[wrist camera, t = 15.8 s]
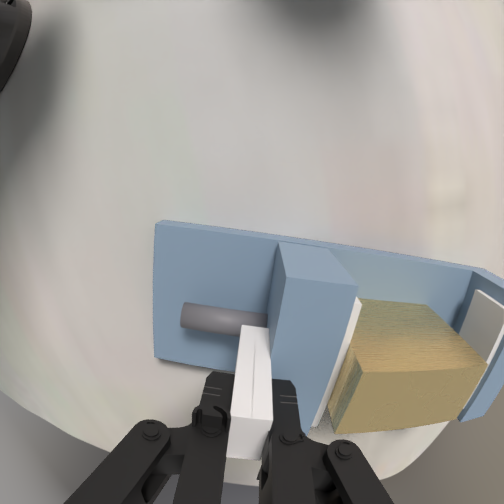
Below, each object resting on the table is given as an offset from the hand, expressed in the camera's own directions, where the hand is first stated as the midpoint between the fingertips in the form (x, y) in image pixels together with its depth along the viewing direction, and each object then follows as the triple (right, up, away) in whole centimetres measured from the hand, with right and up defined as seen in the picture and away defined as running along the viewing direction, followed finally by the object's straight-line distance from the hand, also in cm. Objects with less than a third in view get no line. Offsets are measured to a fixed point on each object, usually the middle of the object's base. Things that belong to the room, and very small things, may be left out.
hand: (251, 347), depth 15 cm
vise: (+6, +1, +5) cm, 8 cm away
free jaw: (0, +1, +3) cm, 3 cm away
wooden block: (+8, 0, +3) cm, 9 cm away
